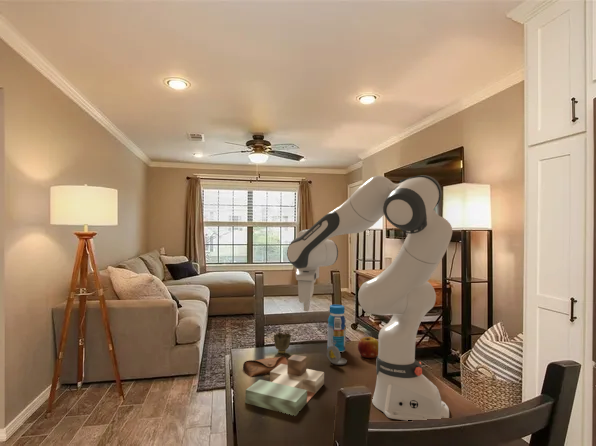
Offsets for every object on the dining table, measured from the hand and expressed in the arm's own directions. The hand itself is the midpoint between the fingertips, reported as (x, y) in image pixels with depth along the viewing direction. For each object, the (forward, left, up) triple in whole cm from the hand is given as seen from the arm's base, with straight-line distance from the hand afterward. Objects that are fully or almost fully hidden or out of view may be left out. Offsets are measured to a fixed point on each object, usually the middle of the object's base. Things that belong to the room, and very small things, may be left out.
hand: (306, 310), depth 128 cm
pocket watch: (-6, -17, -24) cm, 31 cm away
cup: (+19, -17, -24) cm, 35 cm away
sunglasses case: (+15, +1, -25) cm, 29 cm away
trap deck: (0, +15, -24) cm, 28 cm away
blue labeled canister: (-1, -32, -24) cm, 41 cm away
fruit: (-16, -31, -24) cm, 43 cm away
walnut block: (0, +8, -20) cm, 21 cm away
